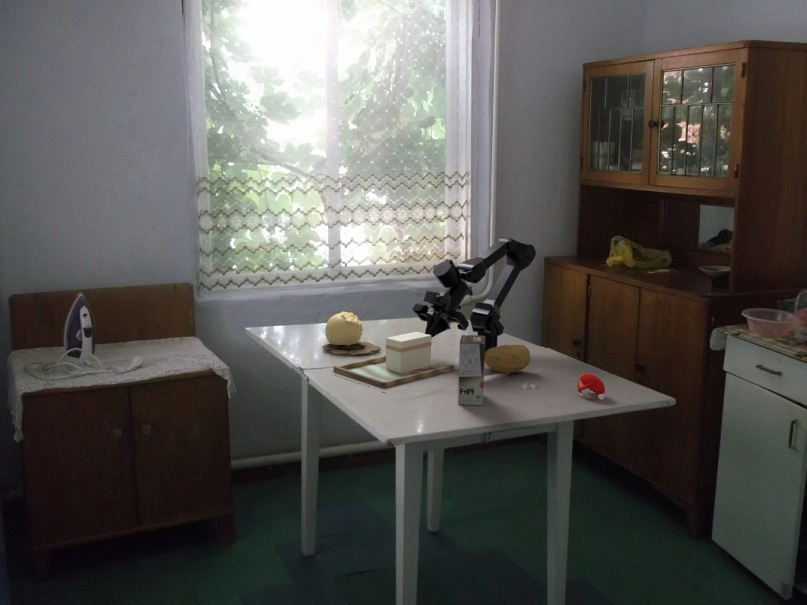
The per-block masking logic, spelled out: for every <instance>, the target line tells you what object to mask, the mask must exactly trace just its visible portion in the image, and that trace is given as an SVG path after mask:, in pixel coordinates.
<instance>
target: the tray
mask: <svg viewBox="0 0 807 605" xmlns="http://www.w3.org/2000/svg"><path fill="white" fill-rule="evenodd" d="M383 362H386V354H385V355H380V356H377V357H376V356H375V357H373V358H372V357H371V358H367V359H363V360H358V361H355V362H354V361H352V362H350V363H348V362H347V363H345V364H340V365H335V366H333V372H335V373H337V374H340V375H343V376H347V377H349V378H352V379H355V380H359V381H361V382H365V383H367V384H370V385H373V386H377V387H379V388H382V389H384V388H385V389H386V388H388V387H393V386H397V385H401V384H405V383H409V382H413V381H416V380H421V379H425V378H429V377H433V376H437V375H440V374H444V373H447V372H451V371H455V364H448V365H445V366H442V365H437V364H435V363H432V362H431V366H428V367H423V368H419V369H415V370H411V371H407V372H403V373H398V372H395V371H392V370H389V369H386V366H383V367H381V366H378V365H375V364H377V363H379V364H380V363H383ZM431 368H434V369H431ZM427 369H429V370H427ZM424 370H426V371H424ZM334 375H335V374H334ZM337 376H338V377H337ZM335 377H337V378H340V377H341V376H339V375H335ZM343 378H344V377H341V379H343ZM343 380H347V381H349V380H350V379H347V378H344V379H343ZM352 381H353V380H350V381H349V382H352ZM355 382H356V381H353V382H352V383H355ZM358 383H359V384H358ZM355 384H358V385H360V384H362V383H360V382H356V383H355ZM363 385H365V384H362V385H361V386H363ZM366 386H368V385H365V386H364V387H366ZM369 387H370V386H368V387H367V388H369Z"/></svg>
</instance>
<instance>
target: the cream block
mask: <svg viewBox="0 0 807 605" xmlns="http://www.w3.org/2000/svg"><path fill="white" fill-rule="evenodd" d="M385 340H386V341H385V350H386V351H385V355H386V361H385V367H386V369H389V370H392V371H395V372H398V373H403V372H407V371H411V370H415V369H419V368H423V367H428V366H431V363H432V362H431V360H432V338H431V335H428V334H425V332H424V333H423V332H419V331H413V332H409V333H403V334H399V335H398V334H397V335H393V336H389V337H386V338H385Z"/></svg>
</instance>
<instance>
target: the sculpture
mask: <svg viewBox="0 0 807 605" xmlns="http://www.w3.org/2000/svg"><path fill="white" fill-rule="evenodd" d="M324 331H325V337H326V340H327V342H328V343H329V344H330V345H334V346H340V345H351V344H355V343H356V344H357V343H359V341H360V340H361V339H362V336H363V331H364V328H363V323H362V321H361V320H360V319H359V316H357V315H355V313H353V312H348V311H341V312H339V313H335V314H334V315H332V316H331V317H330V318H329V319H328V320H327V322H326V325H325V329H324ZM356 344H355V345H356Z"/></svg>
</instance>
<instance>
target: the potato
mask: <svg viewBox="0 0 807 605" xmlns="http://www.w3.org/2000/svg"><path fill="white" fill-rule="evenodd" d="M530 360H531V353H530V350H529V349H528V347H527V346H526V345H523V344H504V345H499V346H498V345H497V347H493V348H490V349H489V350H487V352H486V353H485V364H486V365H487V367H488V368H490V369H491V370H492V371H494V372H496V373H497V374H500V373H510V374H513V373H516V372H519V371H522V370H525V368H526V367H527V366H528V365H529V363H530ZM486 365H485V366H486Z"/></svg>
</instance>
